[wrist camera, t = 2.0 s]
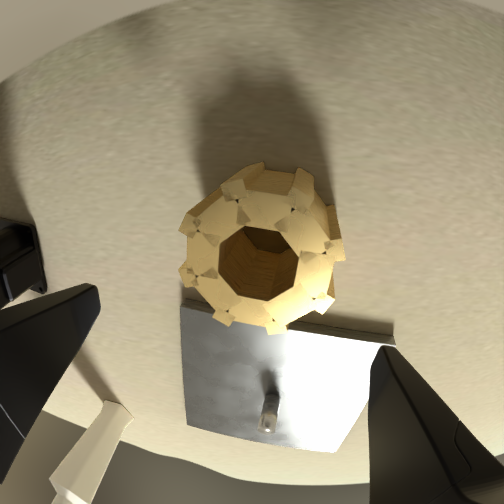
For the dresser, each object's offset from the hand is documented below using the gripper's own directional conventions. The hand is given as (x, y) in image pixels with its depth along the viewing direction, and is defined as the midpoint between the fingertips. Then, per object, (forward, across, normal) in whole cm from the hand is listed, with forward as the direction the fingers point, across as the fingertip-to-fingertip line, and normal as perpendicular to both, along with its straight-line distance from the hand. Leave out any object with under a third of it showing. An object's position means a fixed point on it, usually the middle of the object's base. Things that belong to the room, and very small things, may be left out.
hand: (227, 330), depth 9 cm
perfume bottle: (+10, +14, +24) cm, 29 cm away
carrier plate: (+9, -2, +13) cm, 16 cm away
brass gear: (+9, 0, 0) cm, 9 cm away
